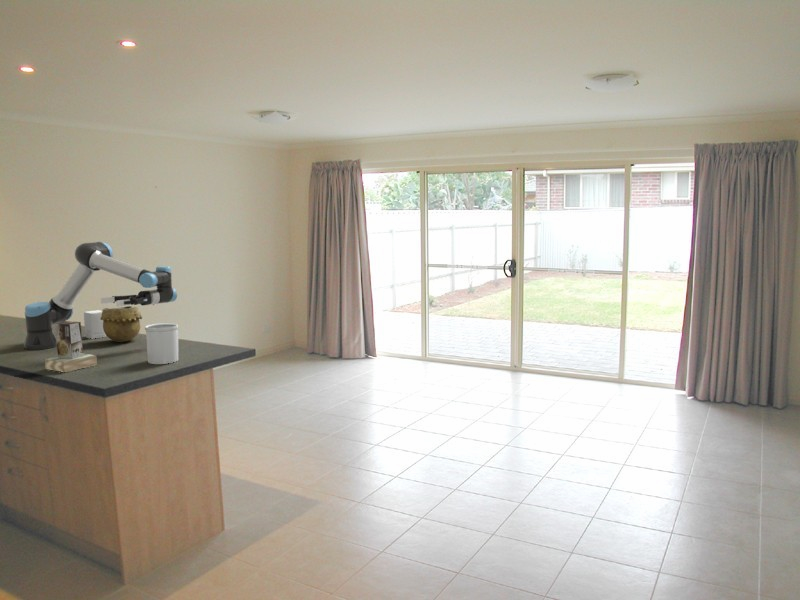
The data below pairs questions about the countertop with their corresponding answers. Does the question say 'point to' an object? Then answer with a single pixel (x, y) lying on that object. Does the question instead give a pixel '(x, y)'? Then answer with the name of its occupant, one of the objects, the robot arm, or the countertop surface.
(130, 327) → the clay pot
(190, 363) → the countertop surface
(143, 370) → the countertop surface
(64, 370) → the base block
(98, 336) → the white canister
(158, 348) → the utensil holder
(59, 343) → the coffee box
